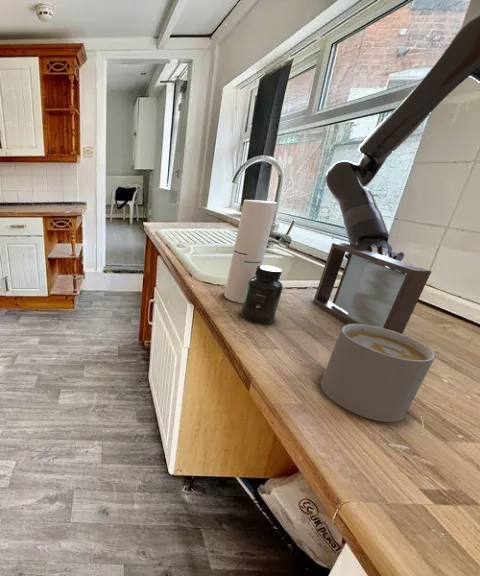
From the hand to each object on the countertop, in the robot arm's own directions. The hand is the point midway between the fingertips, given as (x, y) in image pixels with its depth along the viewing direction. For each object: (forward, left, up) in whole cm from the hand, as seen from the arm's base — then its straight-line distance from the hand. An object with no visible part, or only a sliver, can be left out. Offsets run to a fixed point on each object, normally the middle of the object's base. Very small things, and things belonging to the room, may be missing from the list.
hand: (385, 287), depth 72 cm
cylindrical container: (+22, -21, -8) cm, 31 cm away
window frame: (+9, -1, -7) cm, 12 cm away
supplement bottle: (+28, -11, -8) cm, 31 cm away
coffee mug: (+36, +13, -8) cm, 39 cm away
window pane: (+4, -1, -6) cm, 7 cm away
